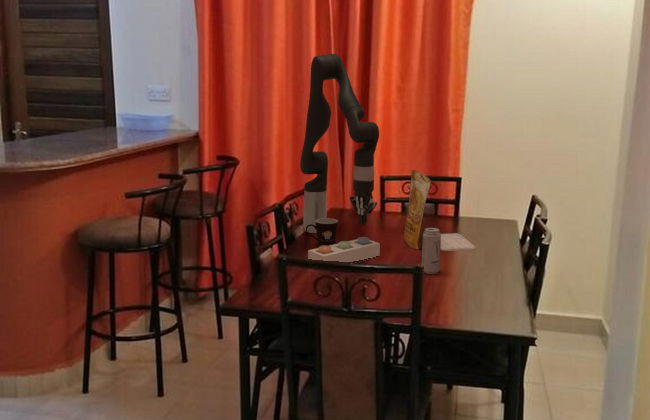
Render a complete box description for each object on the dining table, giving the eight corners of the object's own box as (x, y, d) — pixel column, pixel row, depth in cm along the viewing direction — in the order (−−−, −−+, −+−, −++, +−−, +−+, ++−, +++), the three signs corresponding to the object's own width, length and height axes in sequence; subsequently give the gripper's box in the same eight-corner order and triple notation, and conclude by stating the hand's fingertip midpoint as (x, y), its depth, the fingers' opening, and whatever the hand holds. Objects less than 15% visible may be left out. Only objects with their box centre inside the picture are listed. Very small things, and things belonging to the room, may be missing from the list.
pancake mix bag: (416, 236, 275) (419, 168, 268) (429, 250, 256) (432, 177, 250) (400, 237, 274) (402, 169, 267) (412, 251, 256) (415, 178, 249)
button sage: (335, 250, 244) (336, 242, 244) (345, 248, 247) (345, 240, 246) (343, 253, 241) (343, 245, 240) (353, 251, 244) (353, 243, 243)
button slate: (354, 246, 250) (354, 238, 249) (363, 244, 252) (363, 236, 252) (362, 248, 246) (362, 240, 246) (371, 246, 249) (371, 238, 248)
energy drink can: (435, 275, 229) (436, 232, 225) (418, 272, 232) (420, 230, 228) (442, 270, 234) (443, 228, 230) (425, 267, 237) (427, 226, 233)
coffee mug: (340, 244, 264) (340, 219, 262) (333, 250, 257) (333, 224, 254) (312, 241, 268) (312, 216, 266) (304, 247, 260) (304, 222, 258)
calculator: (442, 252, 256) (442, 247, 256) (427, 238, 275) (427, 233, 275) (476, 251, 258) (476, 246, 257) (459, 236, 277) (459, 232, 276)
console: (308, 263, 240) (308, 250, 239) (363, 250, 256) (363, 237, 255) (323, 270, 234) (323, 256, 232) (379, 256, 249) (379, 243, 248)
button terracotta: (316, 255, 239) (316, 246, 238) (325, 252, 242) (325, 244, 241) (323, 258, 236) (323, 249, 235) (333, 255, 238) (333, 247, 238)
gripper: (343, 176, 247) (343, 222, 251) (368, 182, 237) (367, 229, 241) (359, 173, 251) (358, 218, 255) (383, 179, 241) (382, 226, 245)
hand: (362, 224), depth 248 cm, fingers closed
